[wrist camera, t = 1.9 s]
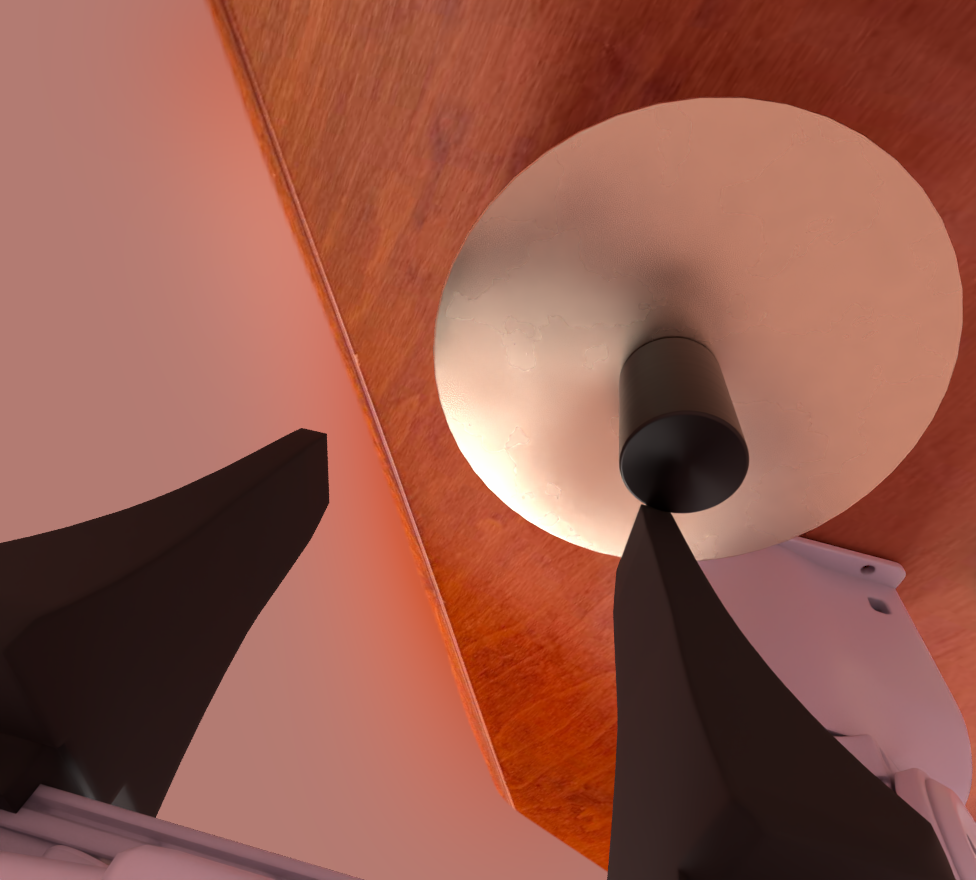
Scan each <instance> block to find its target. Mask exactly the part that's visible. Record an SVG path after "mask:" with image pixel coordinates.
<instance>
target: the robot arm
mask: <svg viewBox="0 0 976 880" xmlns="http://www.w3.org/2000/svg"><path fill="white" fill-rule="evenodd" d="M328 504H329V483H328V457H327V434H325V433H321V432H317V431H312V430H307V429H303V428H301V429H299V430H296V431H294V432H292V433H290V434H289V435H286V436H284V437H282V438H281V439H279V440H277V441H275V442H273V443H271V444H269V445H267V446H265V447H263V448H261V449H260V450H258V451H256V452H254V453H252V454H250V455H248V456H246V457H244V458H242V459H240V460H238V461H236V462H234V463H232V464H231V465H229V466H227V467H225V468H223V469H220V470H218V471H216V472H214V473H212V474H210V475H207V476H205V477H203V478H201V479H199V480H197V481H195V482H192V483H190V484H188V485H186V486H184V487H182V488H179V489H177V490H174V491H172V492H170V493H167V494H165V495H162V496H160V497H157V498H155V499H152V500H150V501H147V502H144V503H142V504H138V505H136V506H133V507H130V508H128V509H124V510H122V511H119V512H115V513H112V514H109V515H106V516H102V517H99V518H96V519H92V520H89V521H86V522H83V523H79V524H76V525H73V526H70V527H66V528H62V529H58V530H54V531H50V532H46V533H42V534H38V535H34V536H30V537H25V538H21V539H17V540H12V541H8V542H3V543H0V880H364V879H360V878H357V877H353V876H350V875H347V874H343V873H339V872H336V871H333V870H330V869H326V868H323V867H320V866H316V865H312V864H309V863H306V862H302V861H299V860H296V859H292V858H289V857H286V856H282V855H279V854H276V853H272V852H268V851H265V850H262V849H259V848H255V847H252V846H248V845H245V844H242V843H238V842H235V841H232V840H228V839H225V838H221V837H218V836H215V835H211V834H208V833H205V832H201V831H198V830H194V829H191V828H188V827H184V826H181V825H177V824H174V823H171V822H167V821H164V820H161V819H157V818H156V815H157V813H158V811H159V809H160V807H161V804H162V802H163V800H164V797H165V796H166V793H167V791H168V789H169V787H170V785H171V782H172V780H173V778H174V776H175V773H176V771H177V769H178V767H179V765H180V762H181V760H182V758H183V756H184V754H185V752H186V750H187V748H188V746H189V744H190V742H191V740H192V737H193V736H194V734H195V731H196V729H197V727H198V725H199V723H200V721H201V719H202V717H203V715H204V713H205V711H206V709H207V707H208V705H209V703H210V701H211V699H212V698H213V696H214V694H215V692H216V690H217V688H218V686H219V684H220V682H221V680H222V678H223V676H224V674H225V672H226V671H227V668H228V667H229V665H230V663H231V661H232V660H233V658H234V656H235V654H236V652H237V651H238V649H239V647H240V645H241V643H242V641H243V640H244V638H245V636H246V634H247V632H248V631H249V629H250V628H251V626H252V625H253V623H254V621H255V620H256V618H257V616H258V615H259V614H260V612H261V610H262V609H263V608H264V606H265V605H266V604H267V602H268V601H269V599H270V598H271V596H272V595H273V593H274V592H275V591H276V589H277V588H278V586H279V585H280V583H281V582H282V580H283V579H284V578H285V576H286V575H287V573H288V572H289V570H290V569H291V567H292V566H293V565H294V563H295V562H296V560H297V559H298V557H299V556H300V554H301V553H302V551H303V550H304V548H305V547H306V545H307V544H308V542H309V541H310V539H311V538H312V536H313V534H314V532H315V530H316V528H317V526H318V524H319V522H320V520H321V518H322V516H323V514H324V512H325V510H326V508H327V506H328ZM867 565H870V566H869V567H866V568H862V567H863V566H867ZM905 576H906V572H905V570H904V569H903V567H902V566H901V565H900V564H899V563H897V562H893V561H890V560H886V559H882V558H878V557H874V556H871V555H867V554H863V553H859V552H855V551H852V550H848V549H844V548H840V547H836V546H833V545H829V544H825V543H821V542H817V541H814V540H810V539H806V538H802V537H798V536H797V537H795V538H793V539H791V540H788V541H785V542H782V543H779V544H776V545H774V546H771V547H768V548H765V549H762V550H758V551H754V552H750V553H746V554H742V555H738V556H733V557H727V558H720V559H713V560H707V561H697V560H696V559H695V557H694V555H693V553H692V551H691V550H690V548H689V546H688V544H687V542H686V540H685V538H684V537H683V535H682V533H681V531H680V529H679V527H678V525H677V523H676V521H675V519H674V517H673V516H672V514H671V513H669V512H664V511H660V510H657V509H654V508H652V507H649V506H647V505H643V504H641V505H640V508H639V511H638V513H637V516H636V519H635V522H634V524H633V527H632V530H631V532H630V535H629V538H628V541H627V543H626V546H625V549H624V551H623V554H622V557H621V560H620V562H619V565H618V568H617V572H616V583H615V595H614V609H613V618H614V643H615V664H616V686H617V707H618V732H617V750H616V769H615V785H614V800H613V815H612V829H611V841H610V853H609V865H608V877H607V880H976V822H975V821H974V819H973V818H972V816H971V814H970V813H969V811H968V810H967V808H966V807H965V804H966V802H967V799H968V796H969V793H970V788H971V782H972V756H971V746H970V741H969V736H968V732H967V728H966V725H965V722H964V719H963V716H962V714H961V712H960V709H959V707H958V705H957V703H956V701H955V699H954V697H953V696H952V694H951V692H950V690H949V688H948V686H947V684H946V683H945V681H944V679H943V677H942V675H941V673H940V671H939V669H938V668H937V666H936V664H935V662H934V660H933V658H932V656H931V654H930V653H929V651H928V649H927V647H926V645H925V643H924V641H923V640H922V638H921V636H920V634H919V632H918V630H917V628H916V626H915V625H914V623H913V621H912V619H911V617H910V615H909V613H908V612H907V610H906V608H905V606H904V604H903V602H902V600H901V598H900V597H899V595H898V593H897V591H896V588H897V586H898V585H899V584H900V583H901V582H902V581H903V580H904V578H905Z"/></svg>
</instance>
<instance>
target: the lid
mask: <svg viewBox="0 0 976 880" xmlns="http://www.w3.org/2000/svg"><path fill="white" fill-rule="evenodd" d="M962 325H963V299H962V283H961V278H960V273H959V268H958V263H957V258H956V253H955V250H954V248H953V245H952V242H951V240H950V237H949V235H948V232H947V230H946V227H945V225H944V222H943V220H942V218H941V216H940V215H939V213H938V211H937V210H936V208H935V207H934V205H933V203H932V202H931V200H930V199H929V197H928V196H927V194H926V192H925V191H924V189H923V188H922V186H921V185H920V184H919V183H918V182H917V181H916V180H915V179H914V178H913V177H912V176H911V175H910V173H909V172H908V171H907V170H906V169H905V168H904V167H903V166H902V165H901V164H900V163H899V162H898V161H897V159H895V158H894V157H893V156H891V155H890V154H889V153H887V152H886V151H885V150H883V149H882V148H881V147H879V146H878V145H877V144H875V143H874V142H873V141H871V140H870V139H869V138H867V137H866V136H865V135H863V134H861V133H859V132H857V131H855V130H853V129H851V128H849V127H847V126H845V125H843V124H841V123H839V122H837V121H836V120H834V119H832V118H830V117H828V116H825V115H821V114H818V113H815V112H812V111H809V110H806V109H802V108H799V107H796V106H793V105H790V104H786V103H780V102H774V101H767V100H760V99H754V98H747V97H705V96H699V97H692V98H685V99H678V100H671V101H664V102H657V103H653V104H650V105H646V106H643V107H639V108H636V109H632V110H629V111H625V112H622V113H618V114H616V115H613V116H611V117H609V118H607V119H604V120H602V121H600V122H597V123H595V124H593V125H591V126H588V127H586V128H584V129H582V130H579V131H578V132H576V133H574V134H573V135H571V136H570V137H568V138H566V139H565V140H563V141H561V142H560V143H558V144H556V145H555V146H553V147H551V148H550V149H548V150H547V151H545V152H544V153H543V154H541V155H540V156H539V157H538V158H537V159H535V160H534V161H533V162H532V163H530V164H529V165H528V166H527V167H525V168H524V169H523V170H522V171H520V172H519V173H518V174H517V175H516V176H515V177H514V178H513V179H512V180H511V181H510V182H509V183H508V184H507V185H506V186H505V187H504V188H503V189H502V190H501V191H500V192H499V193H498V195H497V196H496V197H495V198H494V199H493V200H492V201H491V202H490V203H489V204H488V205H487V207H486V208H485V210H484V211H483V212H482V214H481V215H480V217H479V218H478V219H477V221H476V222H475V223H474V225H473V226H472V228H471V229H470V230H469V232H468V233H467V235H466V237H465V239H464V241H463V243H462V245H461V247H460V249H459V250H458V252H457V254H456V256H455V258H454V260H453V262H452V264H451V267H450V270H449V273H448V275H447V278H446V281H445V283H444V286H443V289H442V292H441V297H440V301H439V306H438V310H437V315H436V319H435V331H434V344H433V355H434V371H435V380H436V385H437V390H438V395H439V400H440V404H441V406H442V409H443V412H444V415H445V418H446V421H447V424H448V427H449V429H450V431H451V433H452V435H453V437H454V439H455V441H456V443H457V445H458V447H459V449H460V451H461V452H462V454H463V455H464V457H465V458H466V460H467V461H468V463H469V464H470V466H471V467H472V469H473V470H474V471H475V473H476V474H477V475H478V476H479V477H480V478H481V480H482V481H483V482H484V483H485V484H486V485H487V487H488V488H489V489H490V490H491V491H492V492H493V493H494V494H495V495H497V496H498V497H499V498H500V499H501V500H502V501H503V502H504V503H505V504H506V505H507V506H509V507H510V508H511V509H513V510H514V511H515V512H517V513H518V514H519V515H521V516H522V517H524V518H525V519H526V520H528V521H529V522H531V523H533V524H534V525H536V526H538V527H540V528H541V529H543V530H545V531H547V532H548V533H550V534H552V535H555V536H557V537H559V538H561V539H563V540H566V541H568V542H570V543H572V544H575V545H578V546H581V547H584V548H587V549H590V550H593V551H596V552H600V553H604V554H609V555H613V556H617V557H622V554H623V551H624V549H625V546H626V543H627V541H628V538H629V535H630V532H631V530H632V527H633V524H634V522H635V519H636V516H637V513H638V511H639V508H640V505H641V504H643V505H647V506H649V507H652V508H654V509H657V510H660V511H664V512H669V513H671V514H672V516H673V517H674V519H675V521H676V523H677V525H678V527H679V529H680V531H681V533H682V535H683V537H684V538H685V540H686V542H687V544H688V546H689V548H690V550H691V551H692V553H693V555H694V557H695V559H696V560H697V561H707V560H713V559H720V558H727V557H733V556H738V555H742V554H746V553H750V552H754V551H758V550H762V549H765V548H768V547H771V546H774V545H776V544H779V543H782V542H785V541H788V540H791V539H793V538H795V537H797V536H799V535H802V534H804V533H806V532H808V531H810V530H812V529H815V528H817V527H819V526H820V525H822V524H824V523H825V522H827V521H829V520H831V519H832V518H834V517H836V516H838V515H839V514H841V513H843V512H844V511H846V510H847V509H848V508H850V507H851V506H852V505H854V504H855V503H857V502H858V501H859V500H861V499H862V498H863V497H865V496H866V495H868V494H869V493H870V492H871V491H872V490H873V489H874V488H876V487H877V486H878V485H879V484H880V483H881V482H882V481H883V480H884V479H885V478H886V477H888V476H889V475H890V474H891V473H892V472H893V471H894V470H895V469H896V467H897V466H898V465H899V464H900V463H901V462H902V461H903V459H904V458H905V457H906V456H907V455H908V454H909V452H910V451H911V450H912V449H913V448H914V447H915V445H916V444H917V442H918V441H919V439H920V438H921V436H922V435H923V433H924V432H925V430H926V429H927V427H928V426H929V424H930V423H931V421H932V420H933V418H934V416H935V414H936V412H937V410H938V407H939V405H940V403H941V401H942V399H943V397H944V395H945V393H946V391H947V389H948V386H949V383H950V380H951V376H952V373H953V370H954V367H955V364H956V361H957V358H958V352H959V345H960V339H961V332H962Z"/></svg>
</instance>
